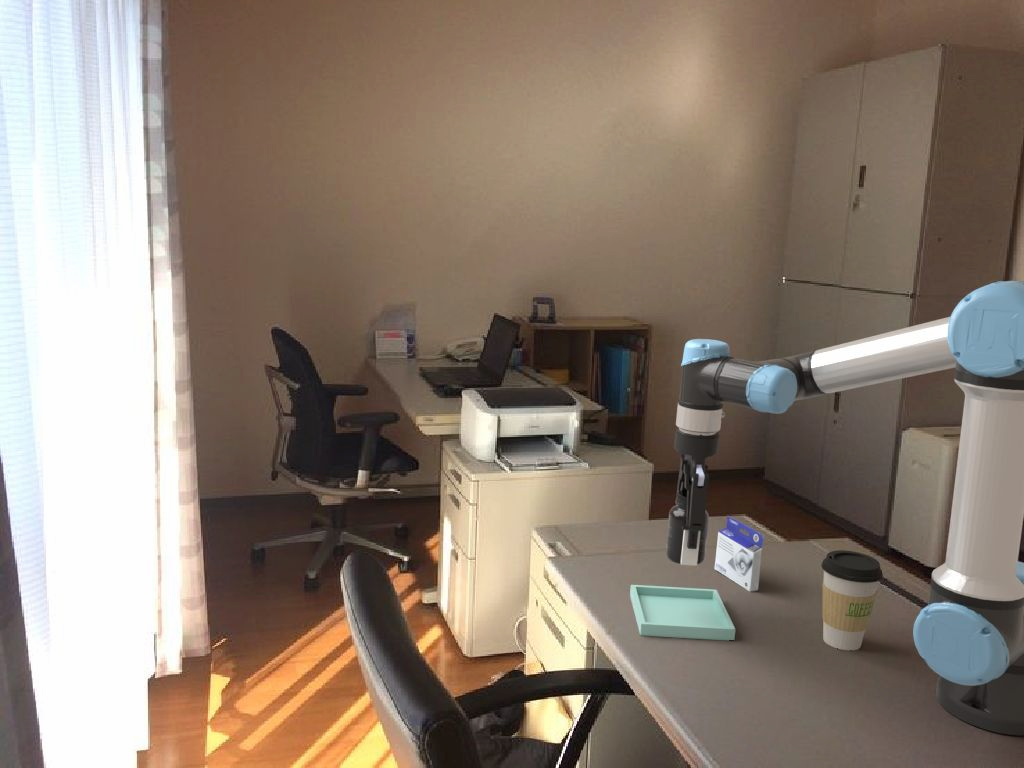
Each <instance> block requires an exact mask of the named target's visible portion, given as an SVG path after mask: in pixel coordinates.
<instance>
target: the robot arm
mask: <svg viewBox="0 0 1024 768" xmlns="http://www.w3.org/2000/svg"><path fill="white" fill-rule="evenodd" d="M730 355H731V353H730V346H729V344H728V343H727V342H724V341H721V340H717V339H710V338H709V339H708V338H695V339H690V340H688V341H687V342H686V343H685V345H684V349H683V355H682V362H681V364H680V366H681V368H680V370H681V371H680V386H679V387H680V389H679V397H678V402H677V407H676V409H677V410H676V417H675V418H676V419H675V420H676V421H675V426H676V427H677V428H676V430H675V434H674V442H673V449H674V451H676V452H677V453H680V455H679V457H680V459H679V460H680V462H679V463H680V464H679V472H678V480H677V490H676V493H677V492H678V491H681V490H687V513H686V526H682V530H684V534H683V544H682V554H681V564H680V565H681V566H698V564H697V560H698V551H699V541H700V532H701V531H704V528H705V527H704V523H705V510H706V508H707V497H708V496H707V495H708V485H709V481H710V474H709V473H708V471H709V469H708V468H709V467H708V465H707V464H706V458H708V457H714V456H716V455H718V453H719V448H720V438H721V434H720V433H719V431H720V430H721V426H722V425H721V424H722V419H723V418H725V417H726V413H725V412H724V411H723V408H724V403H727V404H732V405H736V406H739V407H744V408H748V409H750V410H755V411H757V412H760V413H770V414H777V415H778V414H784V413H785V412H786V411H788V409H789V408H790V407H791V406H793V403H794V402H795V401H800V400H807V399H813V398H815V397H816V398H817V397H820V396H824V395H827V394H832V393H837V392H841V391H847V390H852V389H857V388H861V387H862V388H863V387H867V386H872V385H876V384H881V383H882V384H883V383H886V382H890V381H895V380H900V379H905V378H909V377H911V378H912V377H916V376H920V375H926V374H929V373H934V372H938V371H944V370H945V371H946V370H950V369H954V368H955V370H954V371H955V372H954V379H953V380H954V382H955V384H956V385H957V386H958V387H959V388H960V389H961V390H962V391H963V393H964V403H963V410H962V418H961V427H960V437H959V444H958V445H959V446H958V453H957V462H956V470H955V479H954V487H953V488H954V489H953V494H952V505H951V512H950V514H951V515H950V520H949V521H950V522H949V529H948V530H949V531H948V536H947V537H948V538H947V545H946V546H947V547H946V555H945V562H944V563H943V564H941V565H940V566H937V567H936V568H935V569H933V571H932V572H931V577H930V578H931V579H930V586H929V587H930V588H929V594H928V601H927V602H928V603H927V605H926V606H925V607H923V608H922V609H921V610H920V611H919V614H918V615H917V617H916V619H915V621H914V623H913V630H912V634H913V635H912V636H913V641H914V646H915V647H916V650H917V652H918V654H919V656H920V657H921V658H922V659H923V660H924V662H925V663H926V664H927V666H928V667H929V668H930V669H931V670H932V671H933V672H934V673H936V674H937V675H939V676H938V678H937V681H936V688H935V697H936V700H937V701H938V703H939V704H940V705H941V706H942V707H943V708H944V709H945V710H946V711H948V712H949V714H952V715H953V716H955V717H956V718H957V719H960V720H961V721H963V722H965V723H968V724H970V725H972V726H975V727H977V728H981V729H983V730H986V731H990V732H993V733H998V734H1002V735H1011V736H1024V562H1022V561H1019V554H1020V545H1021V538H1022V531H1023V524H1024V523H1023V522H1024V280H1017V281H1015V280H1008V281H1007V280H1006V281H1003V280H1000V281H997V282H996V281H995V282H992V283H989V284H986V285H983V286H981V287H979V288H976V289H974V290H973V291H971V292H970V293H968V294H967V295H966V296H964V297H963V298H962V299H961V300H960V301H959V302H958V303H957V305H956V306H955V308H954V309H953V311H952V312H951V315H950V316H948V317H947V316H946V317H944V318H940V319H935V320H931V321H928V322H924V323H920V324H915V325H912V326H907V327H904V328H903V327H902V328H900V329H896V330H892V331H888V332H884V333H879V334H877V335H873V336H872V335H871V336H868V337H864V338H860V339H856V340H852V341H849V342H845V343H841V344H837V345H836V344H835V345H833V346H829V347H824V348H821V349H817V350H814V351H813V350H812V351H808V352H804V353H800V354H796V355H792V356H788V357H787V356H786V357H781V358H773V359H766V360H759V361H753V360H746V359H740V358H737V357H733V356H730ZM675 503H676V499H675ZM706 511H707V510H706Z"/></svg>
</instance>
